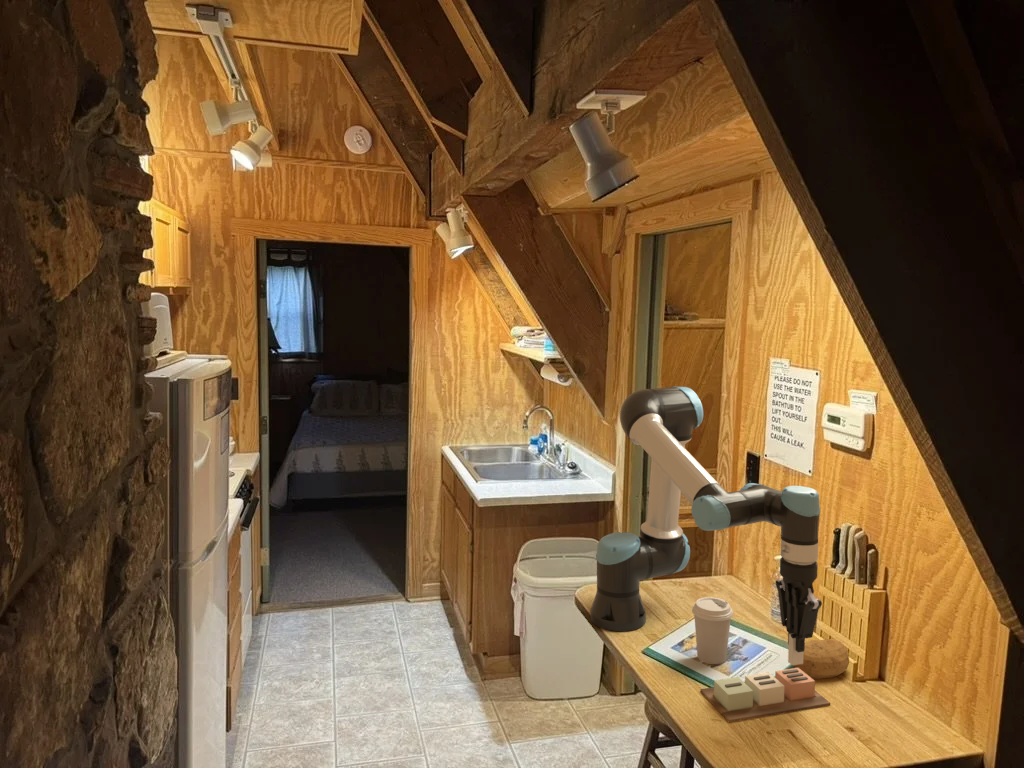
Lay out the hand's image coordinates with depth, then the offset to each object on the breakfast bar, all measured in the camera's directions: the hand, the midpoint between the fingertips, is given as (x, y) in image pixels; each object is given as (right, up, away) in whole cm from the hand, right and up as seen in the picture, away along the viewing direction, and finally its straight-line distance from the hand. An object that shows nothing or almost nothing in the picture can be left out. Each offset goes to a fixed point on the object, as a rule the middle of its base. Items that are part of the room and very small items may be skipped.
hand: (795, 662), depth 155 cm
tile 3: (0, -7, +1) cm, 7 cm away
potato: (+10, -7, +11) cm, 16 cm away
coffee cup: (-14, -7, +17) cm, 23 cm away
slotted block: (-15, -8, -3) cm, 17 cm away
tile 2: (-7, -7, -1) cm, 10 cm away
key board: (-7, -9, -1) cm, 11 cm away
